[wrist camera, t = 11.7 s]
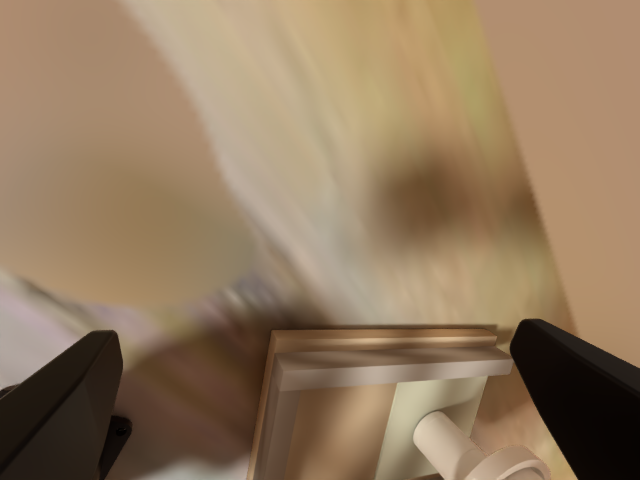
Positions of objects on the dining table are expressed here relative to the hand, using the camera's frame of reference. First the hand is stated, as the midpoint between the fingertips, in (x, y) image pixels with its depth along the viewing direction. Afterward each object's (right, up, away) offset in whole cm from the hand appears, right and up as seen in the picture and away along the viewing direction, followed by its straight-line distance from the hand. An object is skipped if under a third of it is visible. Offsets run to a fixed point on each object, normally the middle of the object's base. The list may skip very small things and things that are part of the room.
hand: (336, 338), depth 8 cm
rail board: (+3, -11, +18) cm, 22 cm away
